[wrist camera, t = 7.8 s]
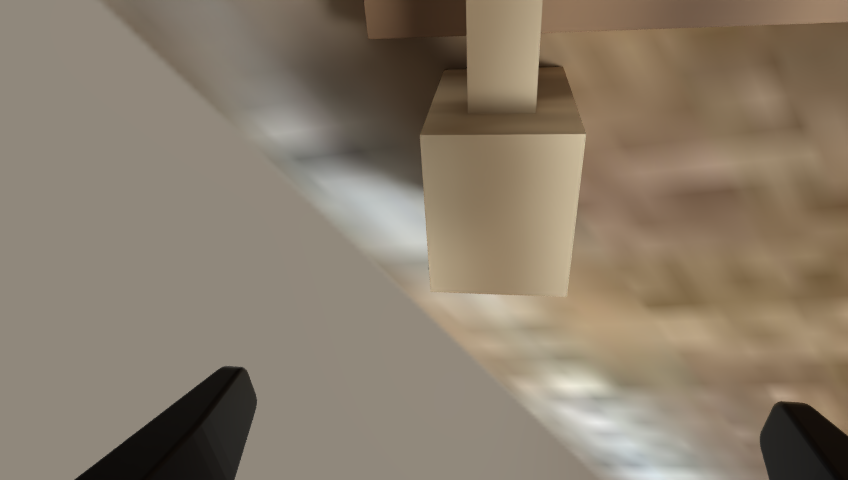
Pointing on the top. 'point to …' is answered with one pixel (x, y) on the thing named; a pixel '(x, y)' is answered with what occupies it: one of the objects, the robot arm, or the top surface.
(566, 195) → the gauge
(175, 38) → the top surface
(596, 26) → the board
